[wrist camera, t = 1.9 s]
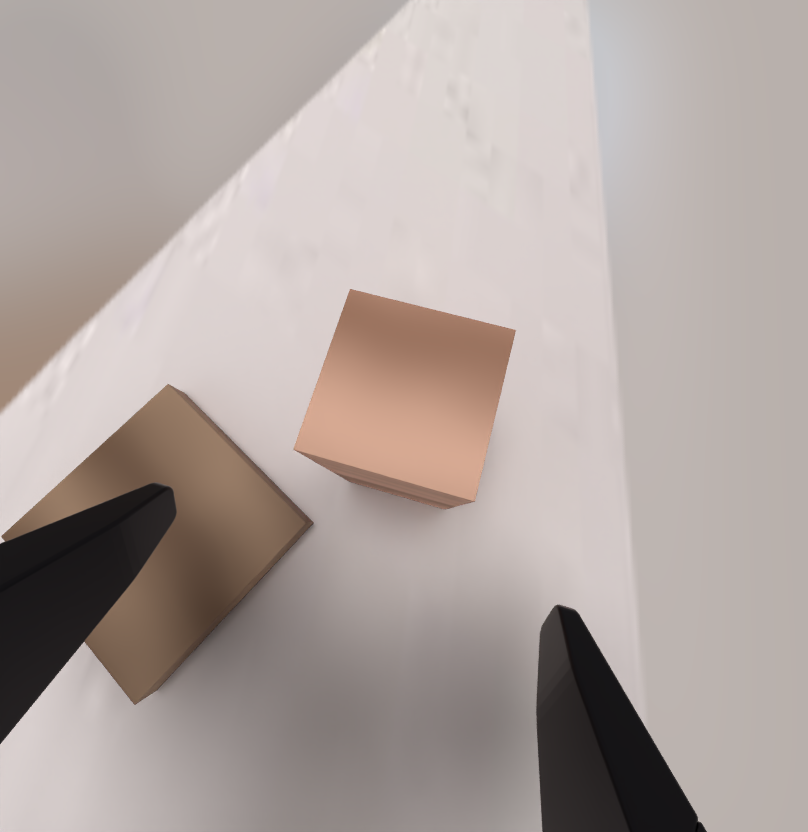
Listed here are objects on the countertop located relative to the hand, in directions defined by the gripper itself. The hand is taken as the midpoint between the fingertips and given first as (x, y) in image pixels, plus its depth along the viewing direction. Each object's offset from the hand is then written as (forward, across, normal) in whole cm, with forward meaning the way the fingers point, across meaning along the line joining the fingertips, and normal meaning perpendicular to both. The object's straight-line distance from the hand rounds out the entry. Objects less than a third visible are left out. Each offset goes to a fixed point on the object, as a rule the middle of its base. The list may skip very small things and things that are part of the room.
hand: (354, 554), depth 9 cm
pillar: (+11, 0, +5) cm, 12 cm away
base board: (+6, +10, +10) cm, 15 cm away
